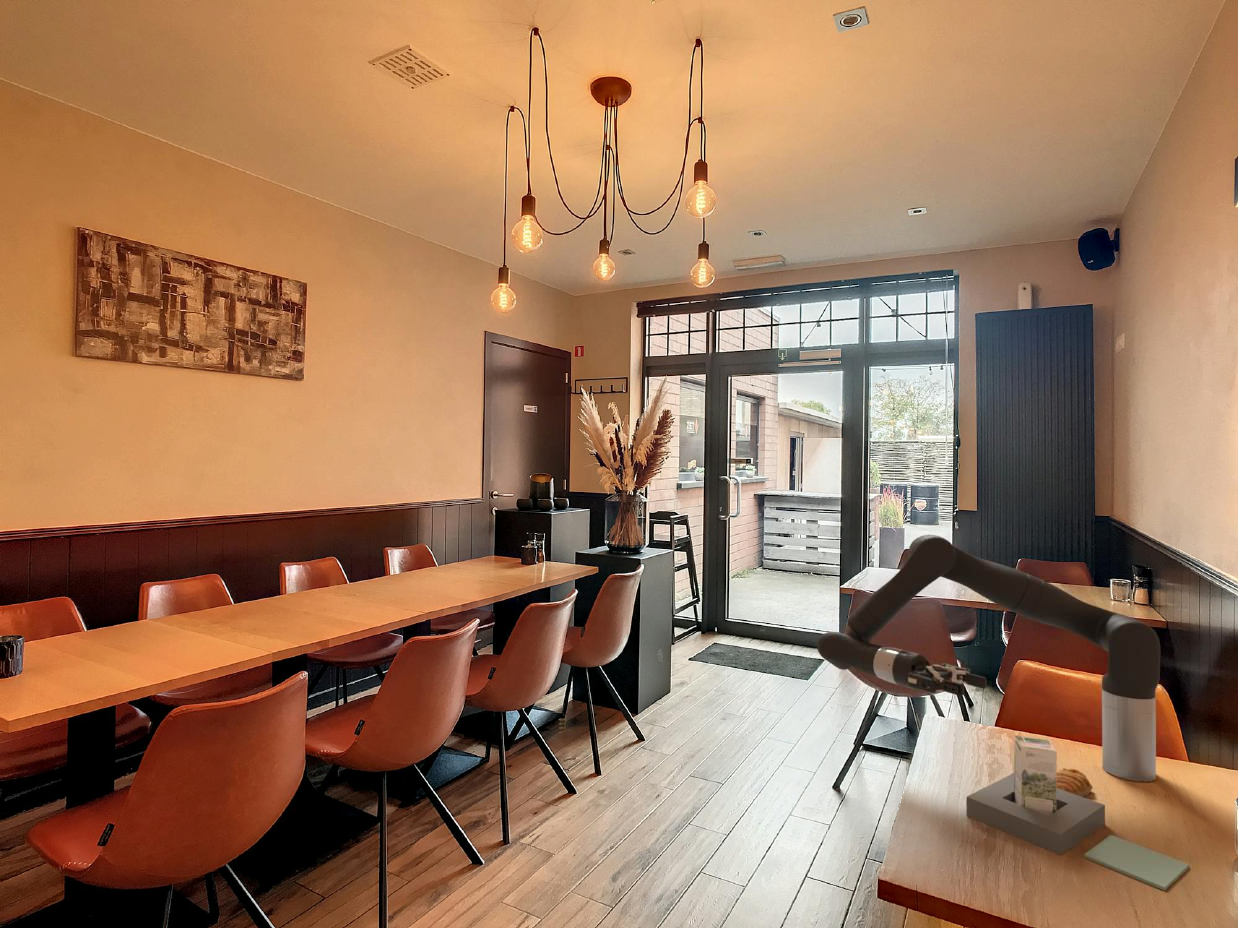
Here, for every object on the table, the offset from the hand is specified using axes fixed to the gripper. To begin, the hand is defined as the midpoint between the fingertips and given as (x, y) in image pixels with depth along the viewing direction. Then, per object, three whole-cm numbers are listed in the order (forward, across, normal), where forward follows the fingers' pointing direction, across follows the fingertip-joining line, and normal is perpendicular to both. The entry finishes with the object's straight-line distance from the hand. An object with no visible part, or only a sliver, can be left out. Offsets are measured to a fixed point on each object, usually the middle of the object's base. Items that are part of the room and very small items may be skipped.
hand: (974, 686), depth 135 cm
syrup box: (+11, 0, +22) cm, 25 cm away
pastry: (+10, +18, +22) cm, 30 cm away
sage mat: (+27, -1, +22) cm, 35 cm away
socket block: (+11, 0, +22) cm, 24 cm away
